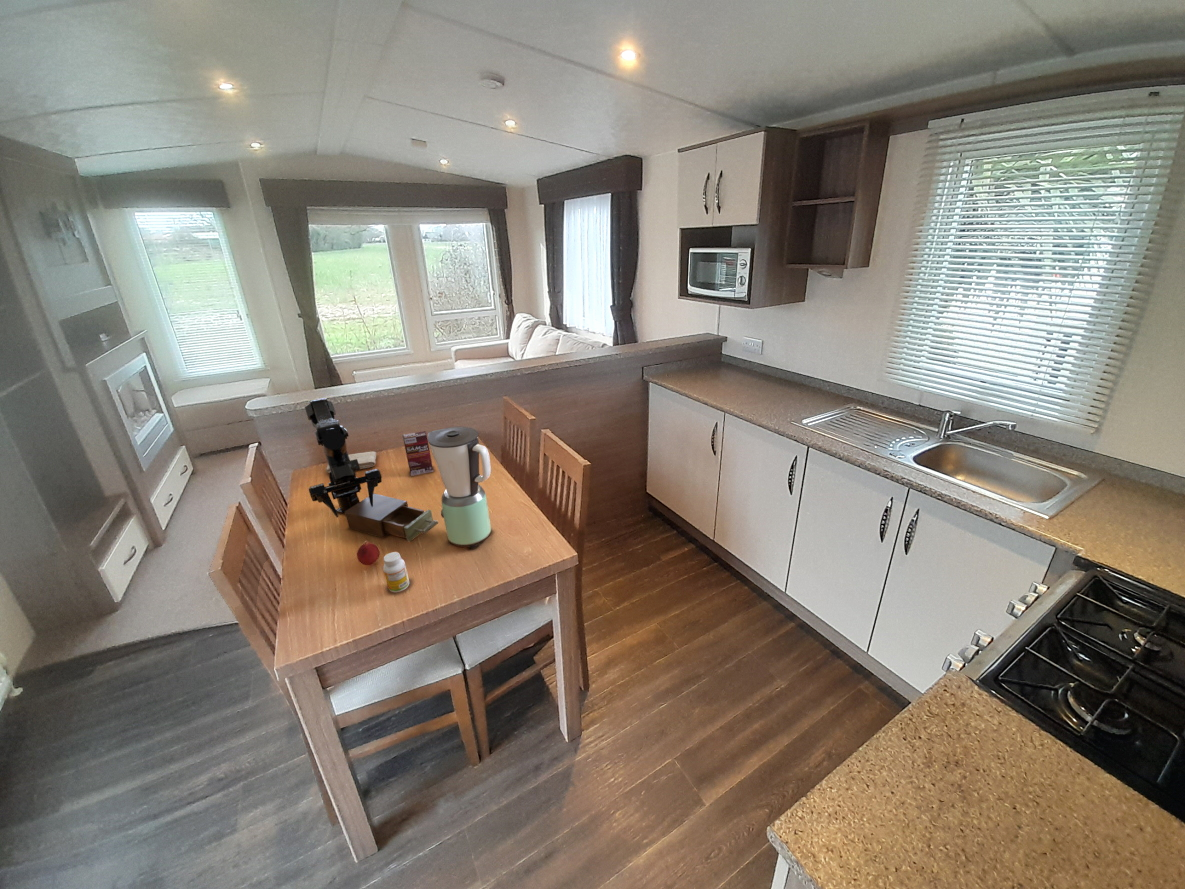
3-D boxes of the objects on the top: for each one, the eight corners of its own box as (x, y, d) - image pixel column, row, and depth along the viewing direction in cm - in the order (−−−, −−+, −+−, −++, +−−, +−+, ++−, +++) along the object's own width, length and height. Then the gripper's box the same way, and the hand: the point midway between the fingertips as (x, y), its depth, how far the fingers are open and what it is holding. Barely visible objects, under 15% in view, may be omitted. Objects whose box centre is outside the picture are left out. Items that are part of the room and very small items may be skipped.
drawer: (444, 525, 151) (442, 512, 149) (421, 544, 142) (418, 531, 140) (401, 514, 157) (398, 502, 155) (376, 532, 148) (373, 519, 146)
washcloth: (330, 462, 195) (328, 456, 194) (377, 455, 201) (375, 448, 199) (326, 475, 185) (324, 468, 184) (376, 467, 191) (374, 460, 189)
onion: (374, 572, 132) (367, 549, 129) (355, 570, 133) (348, 547, 130) (386, 559, 137) (380, 536, 134) (368, 557, 138) (362, 534, 135)
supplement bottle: (391, 579, 129) (384, 550, 125) (412, 578, 130) (405, 549, 125) (385, 593, 124) (377, 564, 120) (406, 592, 125) (399, 562, 121)
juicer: (433, 544, 143) (411, 438, 128) (460, 520, 154) (443, 420, 139) (487, 557, 137) (470, 448, 122) (511, 531, 148) (498, 428, 133)
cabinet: (410, 517, 157) (406, 501, 154) (383, 538, 147) (379, 520, 144) (377, 509, 162) (373, 493, 159) (349, 528, 152) (344, 511, 149)
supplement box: (410, 476, 182) (402, 439, 176) (409, 471, 186) (401, 434, 180) (434, 471, 185) (426, 434, 179) (432, 466, 189) (425, 430, 183)
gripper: (299, 461, 128) (315, 514, 124) (372, 443, 137) (389, 492, 134) (305, 475, 137) (320, 525, 134) (373, 458, 147) (389, 504, 143)
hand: (355, 511), depth 136 cm, fingers open, 9 cm apart
